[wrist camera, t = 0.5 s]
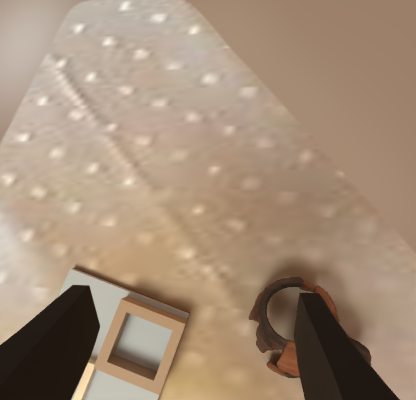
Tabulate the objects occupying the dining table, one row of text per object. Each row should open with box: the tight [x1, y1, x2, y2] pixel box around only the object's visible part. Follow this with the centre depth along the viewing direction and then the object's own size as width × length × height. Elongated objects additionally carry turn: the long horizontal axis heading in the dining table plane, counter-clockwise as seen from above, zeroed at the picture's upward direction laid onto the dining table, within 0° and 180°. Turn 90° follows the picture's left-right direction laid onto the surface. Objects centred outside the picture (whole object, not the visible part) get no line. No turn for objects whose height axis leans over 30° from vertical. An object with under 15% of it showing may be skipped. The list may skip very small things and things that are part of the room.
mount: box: [58, 268, 189, 400], centre depth 34 cm, size 15×14×4 cm
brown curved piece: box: [249, 277, 371, 378], centre depth 34 cm, size 12×10×8 cm
